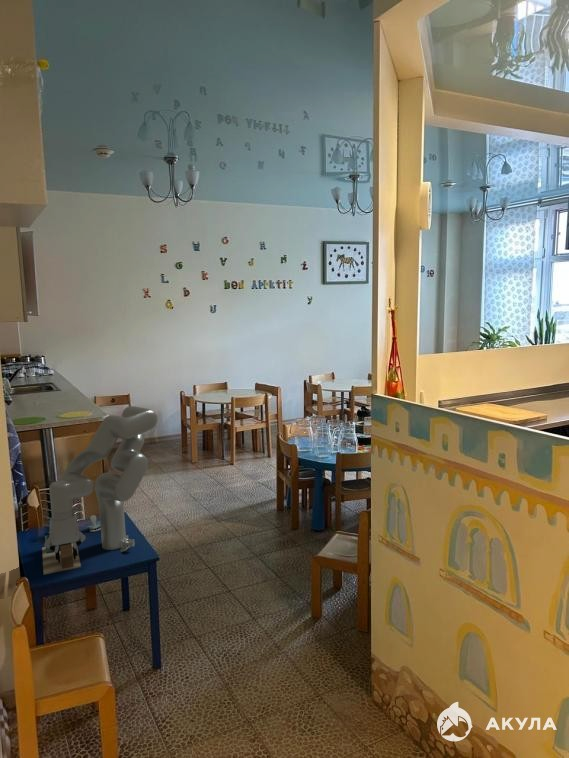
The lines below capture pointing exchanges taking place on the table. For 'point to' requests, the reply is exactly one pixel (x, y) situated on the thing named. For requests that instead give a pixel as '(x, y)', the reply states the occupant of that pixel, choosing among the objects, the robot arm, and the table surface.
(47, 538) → the cup bracket
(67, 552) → the rail end
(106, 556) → the table surface
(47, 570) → the base board
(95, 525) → the pacifier
